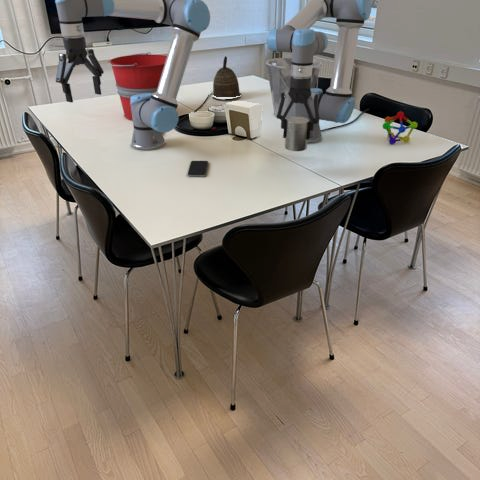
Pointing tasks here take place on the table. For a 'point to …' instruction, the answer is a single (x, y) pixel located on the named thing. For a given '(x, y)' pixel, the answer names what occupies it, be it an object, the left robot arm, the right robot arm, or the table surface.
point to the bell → (225, 82)
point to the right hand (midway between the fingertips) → (296, 137)
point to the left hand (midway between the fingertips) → (84, 97)
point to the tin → (296, 133)
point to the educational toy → (398, 128)
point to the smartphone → (198, 168)
